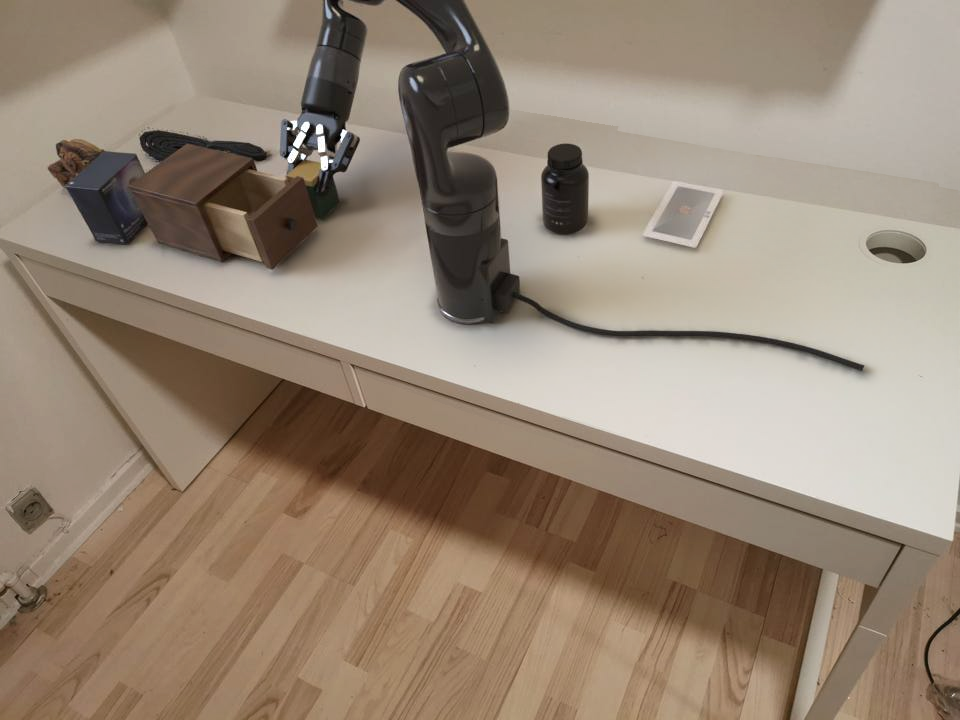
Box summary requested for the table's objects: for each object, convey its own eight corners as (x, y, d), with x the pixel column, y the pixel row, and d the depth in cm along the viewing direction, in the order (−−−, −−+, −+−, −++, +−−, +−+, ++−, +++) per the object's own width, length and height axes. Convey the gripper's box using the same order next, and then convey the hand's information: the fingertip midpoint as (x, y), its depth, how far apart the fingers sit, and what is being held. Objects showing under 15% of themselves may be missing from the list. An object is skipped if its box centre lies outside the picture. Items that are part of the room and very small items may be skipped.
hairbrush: (251, 156, 122) (126, 141, 127) (257, 174, 125) (134, 159, 130) (272, 132, 127) (152, 118, 132) (277, 150, 130) (159, 136, 135)
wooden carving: (53, 197, 124) (21, 146, 116) (71, 183, 126) (41, 132, 119) (126, 210, 119) (98, 157, 112) (144, 195, 122) (118, 142, 114)
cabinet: (273, 216, 114) (253, 158, 106) (222, 262, 106) (195, 203, 99) (211, 200, 119) (187, 143, 111) (157, 243, 111) (127, 185, 104)
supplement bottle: (552, 206, 109) (551, 135, 101) (594, 214, 107) (597, 142, 98) (535, 231, 105) (533, 160, 96) (578, 240, 103) (580, 168, 94)
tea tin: (340, 202, 115) (330, 164, 110) (322, 219, 112) (311, 181, 107) (315, 196, 117) (304, 159, 112) (297, 213, 114) (285, 175, 109)
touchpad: (640, 241, 101) (642, 229, 100) (672, 186, 110) (674, 174, 108) (694, 254, 98) (697, 241, 97) (722, 196, 107) (725, 184, 106)
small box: (129, 246, 111) (98, 189, 104) (94, 242, 113) (61, 186, 105) (164, 207, 118) (137, 151, 111) (131, 205, 120) (102, 149, 112)
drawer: (324, 228, 109) (309, 178, 102) (279, 272, 102) (260, 222, 96) (256, 210, 114) (238, 162, 107) (208, 251, 107) (186, 202, 101)
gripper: (279, 69, 108) (254, 178, 109) (356, 81, 102) (328, 195, 104) (308, 87, 115) (284, 189, 116) (382, 99, 109) (356, 206, 111)
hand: (305, 191), depth 110 cm, fingers closed on tea tin, 5 cm apart
